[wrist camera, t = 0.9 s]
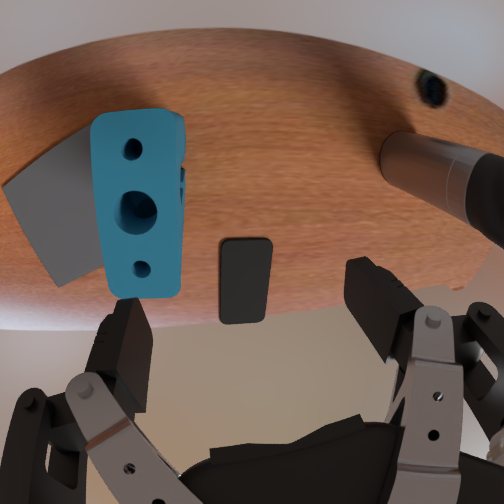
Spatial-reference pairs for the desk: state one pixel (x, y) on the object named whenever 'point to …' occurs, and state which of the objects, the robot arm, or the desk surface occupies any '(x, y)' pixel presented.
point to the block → (140, 199)
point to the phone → (244, 279)
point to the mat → (60, 208)
